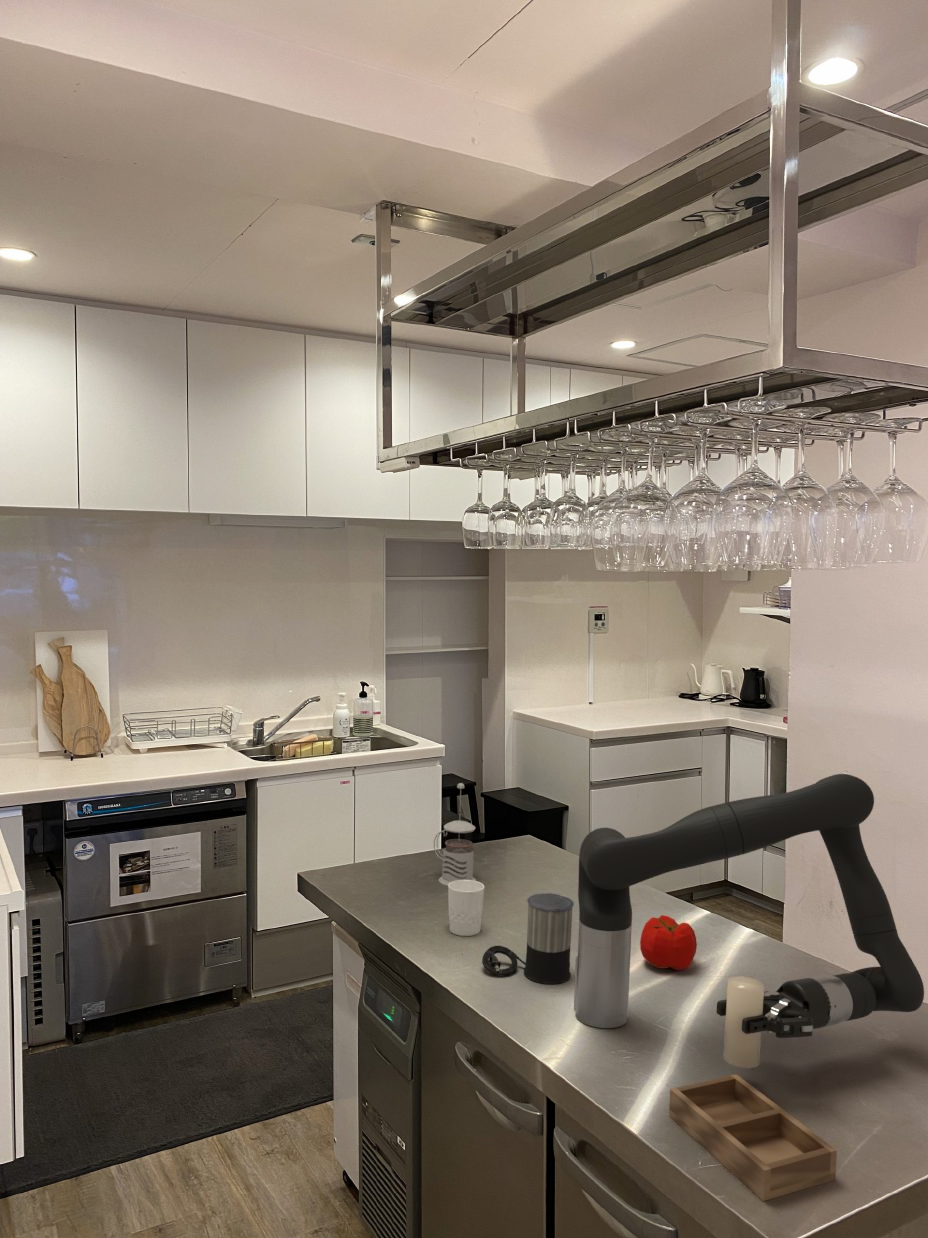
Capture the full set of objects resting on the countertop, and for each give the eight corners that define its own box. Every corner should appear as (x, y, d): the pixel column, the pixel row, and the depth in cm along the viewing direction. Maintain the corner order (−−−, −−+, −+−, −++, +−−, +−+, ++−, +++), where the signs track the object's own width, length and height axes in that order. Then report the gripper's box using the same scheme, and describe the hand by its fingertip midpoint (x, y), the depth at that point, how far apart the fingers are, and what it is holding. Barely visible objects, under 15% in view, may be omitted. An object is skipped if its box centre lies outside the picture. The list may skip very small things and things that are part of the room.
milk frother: (580, 980, 183) (583, 905, 182) (511, 995, 176) (514, 917, 175) (540, 953, 196) (543, 883, 195) (474, 966, 188) (476, 893, 187)
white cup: (463, 940, 201) (464, 894, 200) (439, 929, 207) (440, 884, 206) (490, 932, 206) (491, 887, 206) (466, 921, 212) (467, 877, 212)
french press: (466, 889, 233) (470, 789, 232) (425, 881, 238) (428, 783, 237) (483, 878, 242) (486, 782, 241) (442, 871, 247) (445, 776, 246)
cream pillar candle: (716, 1053, 148) (720, 979, 148) (743, 1048, 150) (748, 974, 150) (738, 1071, 143) (743, 993, 143) (766, 1065, 145) (771, 989, 145)
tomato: (627, 960, 193) (629, 917, 193) (671, 950, 199) (673, 908, 199) (663, 981, 184) (665, 935, 184) (708, 969, 190) (710, 925, 190)
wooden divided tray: (669, 1116, 138) (670, 1089, 138) (735, 1100, 143) (736, 1074, 142) (763, 1201, 119) (764, 1170, 119) (835, 1180, 124) (836, 1150, 124)
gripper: (785, 961, 158) (702, 974, 152) (851, 999, 145) (764, 1015, 139) (782, 1005, 159) (699, 1020, 152) (847, 1046, 146) (760, 1064, 139)
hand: (731, 1017), depth 145 cm, fingers closed on cream pillar candle, 5 cm apart
